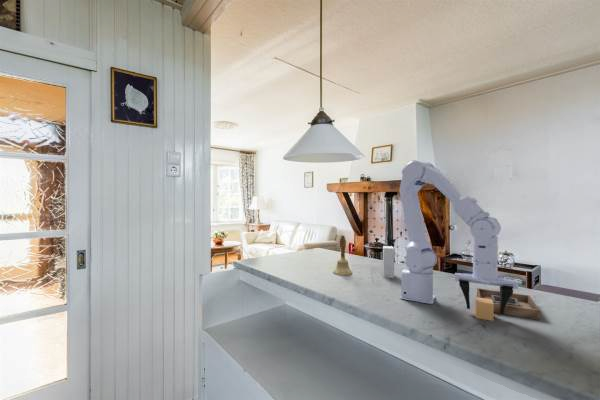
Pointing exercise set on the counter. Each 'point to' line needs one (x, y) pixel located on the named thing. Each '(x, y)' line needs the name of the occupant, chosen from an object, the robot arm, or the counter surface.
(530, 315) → the box
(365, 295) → the counter surface
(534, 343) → the counter surface
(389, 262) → the skincare box
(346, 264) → the hand bell
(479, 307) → the plug
